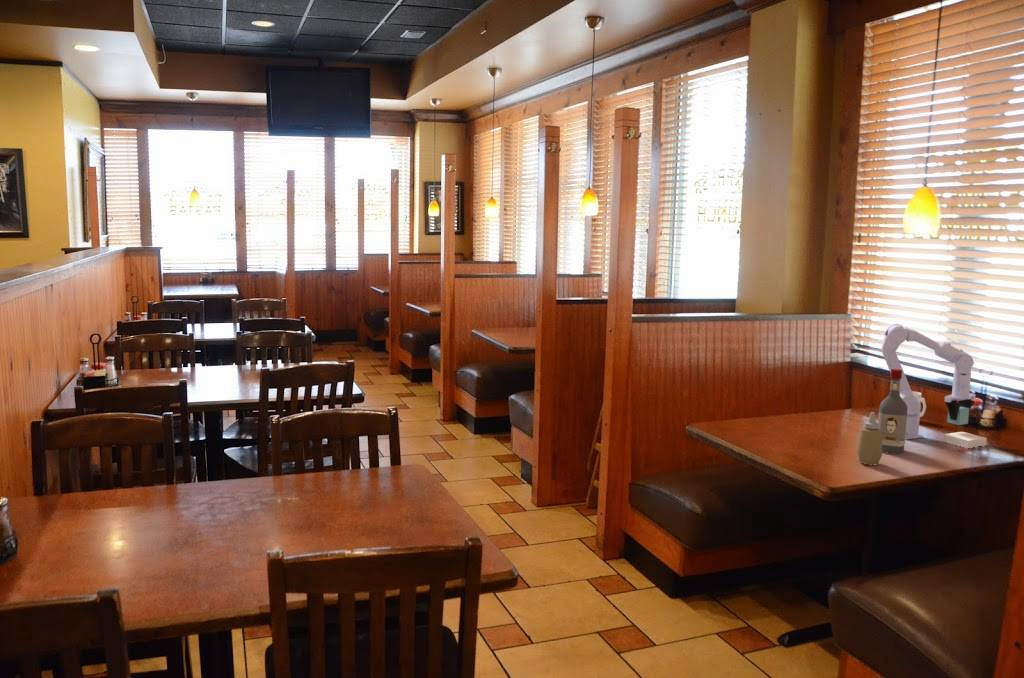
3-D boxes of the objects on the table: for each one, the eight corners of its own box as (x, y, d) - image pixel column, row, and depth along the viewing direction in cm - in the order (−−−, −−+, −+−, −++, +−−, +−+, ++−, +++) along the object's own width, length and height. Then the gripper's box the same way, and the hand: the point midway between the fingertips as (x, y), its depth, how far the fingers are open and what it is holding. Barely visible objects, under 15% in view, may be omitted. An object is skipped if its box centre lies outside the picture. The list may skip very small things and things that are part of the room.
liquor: (877, 445, 299) (883, 366, 295) (904, 449, 295) (910, 369, 291) (875, 451, 291) (881, 370, 287) (903, 455, 287) (910, 373, 283)
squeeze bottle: (884, 463, 278) (889, 412, 275) (877, 468, 272) (881, 416, 269) (860, 458, 283) (864, 408, 280) (852, 463, 277) (856, 412, 274)
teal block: (958, 425, 304) (960, 409, 303) (947, 422, 308) (948, 406, 307) (967, 423, 306) (969, 408, 305) (956, 420, 310) (957, 405, 309)
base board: (967, 448, 296) (968, 440, 296) (943, 441, 306) (944, 434, 305) (985, 445, 300) (986, 438, 300) (961, 439, 309) (962, 431, 309)
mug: (897, 419, 340) (900, 391, 338) (908, 418, 342) (911, 390, 340) (918, 425, 330) (920, 396, 329) (929, 423, 333) (932, 395, 331)
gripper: (957, 387, 298) (954, 423, 300) (984, 384, 304) (980, 419, 306) (940, 384, 304) (937, 418, 306) (966, 381, 310) (963, 415, 312)
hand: (958, 418), depth 306 cm, fingers closed on teal block, 5 cm apart
